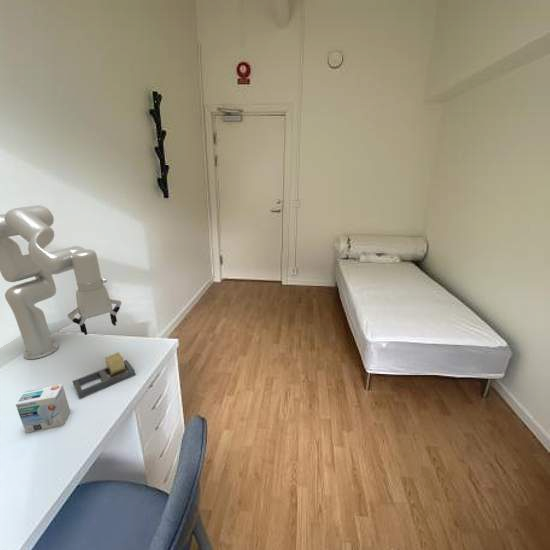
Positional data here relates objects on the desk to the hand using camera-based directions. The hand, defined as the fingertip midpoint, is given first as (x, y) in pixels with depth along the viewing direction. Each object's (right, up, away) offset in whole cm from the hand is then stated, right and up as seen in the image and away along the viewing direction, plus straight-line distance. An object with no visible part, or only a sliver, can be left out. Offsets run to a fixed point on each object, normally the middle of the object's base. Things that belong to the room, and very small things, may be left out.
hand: (100, 328), depth 117 cm
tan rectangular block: (+4, -19, +5) cm, 20 cm away
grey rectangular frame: (+1, -20, +2) cm, 20 cm away
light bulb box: (-7, -27, -16) cm, 32 cm away
